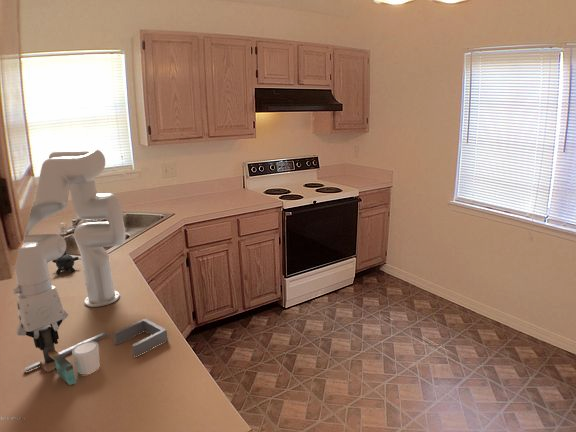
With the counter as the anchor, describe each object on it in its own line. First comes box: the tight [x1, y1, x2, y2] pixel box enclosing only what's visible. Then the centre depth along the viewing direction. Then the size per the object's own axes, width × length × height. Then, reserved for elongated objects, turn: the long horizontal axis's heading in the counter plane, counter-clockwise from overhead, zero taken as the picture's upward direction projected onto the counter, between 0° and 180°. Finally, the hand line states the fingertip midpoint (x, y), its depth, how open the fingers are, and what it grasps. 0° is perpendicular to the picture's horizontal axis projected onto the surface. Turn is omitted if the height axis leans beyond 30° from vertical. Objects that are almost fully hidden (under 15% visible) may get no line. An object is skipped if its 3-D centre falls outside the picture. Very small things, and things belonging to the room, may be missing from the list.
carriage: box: [39, 325, 77, 386], centre depth 111 cm, size 16×4×12 cm, turn 51°
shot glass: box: [71, 341, 101, 375], centre depth 113 cm, size 7×7×7 cm
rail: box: [23, 331, 109, 372], centre depth 122 cm, size 1×24×1 cm, turn 141°
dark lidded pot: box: [51, 249, 79, 275], centre depth 185 cm, size 11×11×12 cm
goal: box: [112, 318, 169, 358], centre depth 126 cm, size 12×11×4 cm
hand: (47, 344), depth 114 cm, fingers closed on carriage, 3 cm apart
